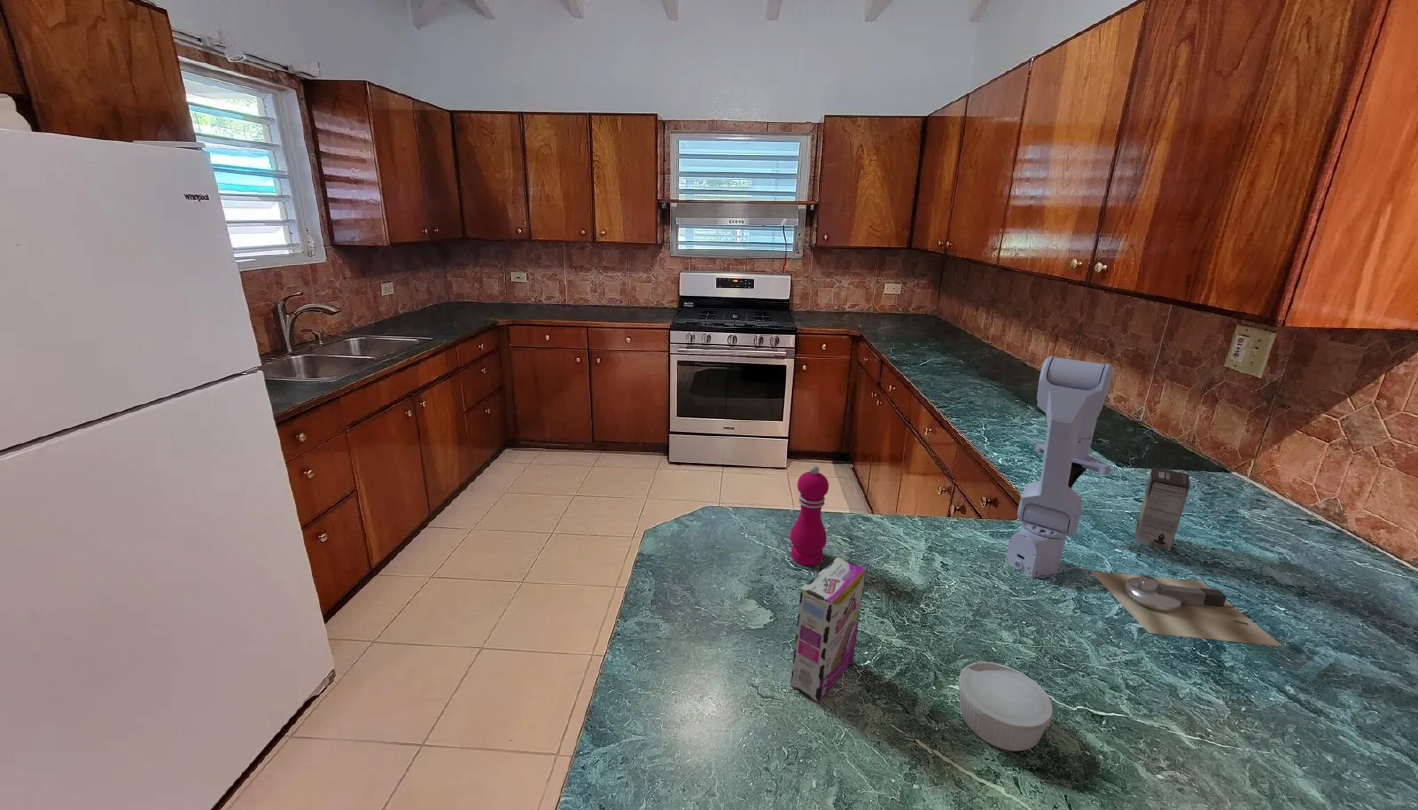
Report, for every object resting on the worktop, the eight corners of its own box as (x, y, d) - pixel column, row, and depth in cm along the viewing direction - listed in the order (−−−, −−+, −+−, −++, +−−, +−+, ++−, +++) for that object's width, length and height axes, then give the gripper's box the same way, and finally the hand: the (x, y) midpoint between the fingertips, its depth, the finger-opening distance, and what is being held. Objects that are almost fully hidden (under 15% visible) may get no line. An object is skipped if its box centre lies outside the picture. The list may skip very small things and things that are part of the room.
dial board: (1147, 639, 92) (1149, 632, 91) (1089, 576, 109) (1090, 570, 108) (1280, 652, 89) (1283, 645, 89) (1199, 586, 107) (1201, 580, 106)
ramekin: (1015, 690, 80) (1022, 660, 79) (1065, 760, 69) (1074, 726, 68) (939, 690, 80) (944, 660, 78) (977, 760, 69) (985, 727, 68)
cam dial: (1139, 609, 97) (1145, 590, 96) (1115, 582, 104) (1120, 565, 103) (1235, 620, 95) (1241, 601, 94) (1203, 592, 102) (1208, 574, 101)
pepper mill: (824, 569, 108) (834, 475, 103) (787, 564, 110) (794, 470, 104) (824, 550, 115) (833, 460, 109) (789, 545, 116) (796, 457, 111)
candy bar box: (820, 705, 76) (831, 603, 72) (789, 687, 79) (797, 588, 75) (855, 661, 85) (867, 567, 80) (826, 646, 88) (836, 554, 83)
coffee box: (1133, 530, 127) (1151, 465, 123) (1169, 539, 124) (1188, 473, 119) (1132, 546, 120) (1151, 478, 116) (1170, 557, 117) (1191, 487, 112)
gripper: (1124, 442, 113) (1108, 503, 117) (1053, 422, 125) (1041, 477, 129) (1105, 447, 109) (1089, 510, 113) (1034, 426, 122) (1022, 482, 126)
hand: (1062, 493), depth 121 cm, fingers closed
